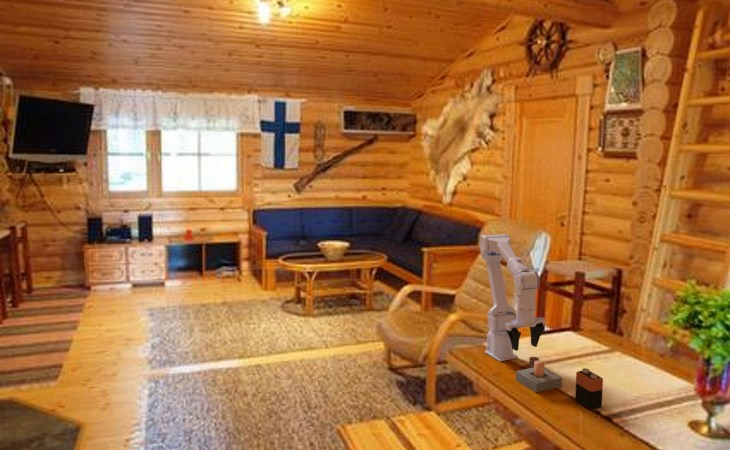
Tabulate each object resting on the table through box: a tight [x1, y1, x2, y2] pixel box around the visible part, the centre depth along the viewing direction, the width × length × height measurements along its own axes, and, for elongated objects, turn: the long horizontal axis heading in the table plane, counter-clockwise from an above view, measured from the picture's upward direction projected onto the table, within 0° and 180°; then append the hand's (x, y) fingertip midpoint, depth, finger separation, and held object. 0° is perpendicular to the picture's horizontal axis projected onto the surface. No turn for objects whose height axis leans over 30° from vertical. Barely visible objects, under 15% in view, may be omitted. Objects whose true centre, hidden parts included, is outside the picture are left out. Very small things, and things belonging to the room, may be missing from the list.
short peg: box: [528, 356, 540, 369], centre depth 187 cm, size 3×3×4 cm
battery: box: [574, 367, 604, 411], centre depth 162 cm, size 4×7×10 cm, turn 17°
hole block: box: [515, 367, 563, 393], centre depth 177 cm, size 10×10×3 cm
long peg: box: [534, 360, 545, 378], centre depth 177 cm, size 3×3×7 cm
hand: (524, 347), depth 182 cm, fingers open, 7 cm apart
